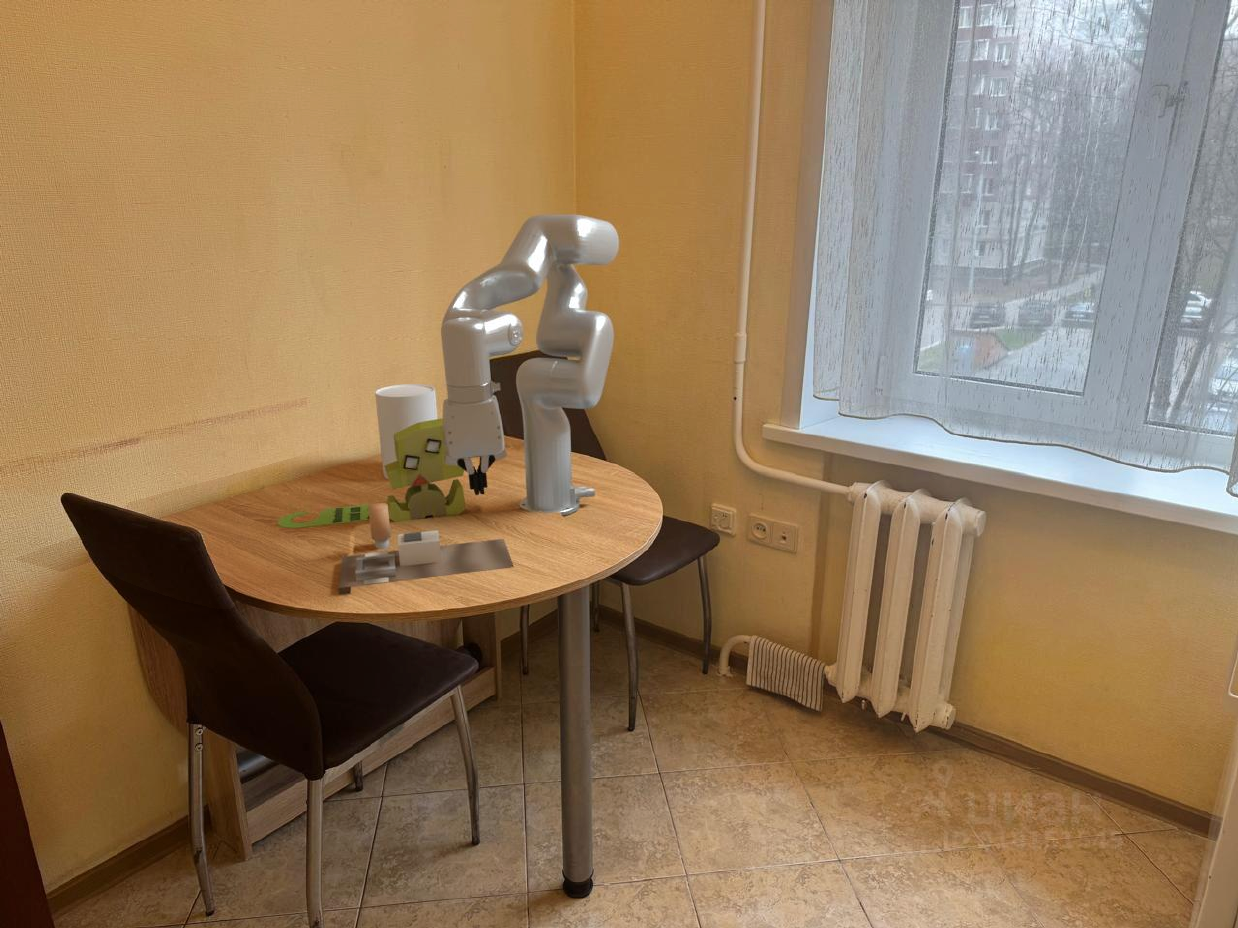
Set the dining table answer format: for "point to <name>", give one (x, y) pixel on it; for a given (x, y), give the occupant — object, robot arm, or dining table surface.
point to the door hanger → (330, 517)
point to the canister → (402, 413)
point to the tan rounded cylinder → (380, 524)
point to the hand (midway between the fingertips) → (479, 491)
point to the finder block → (419, 548)
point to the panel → (452, 562)
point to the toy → (423, 474)
